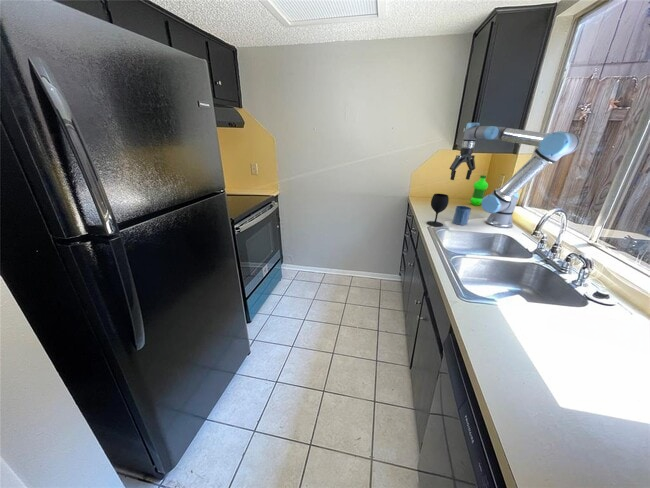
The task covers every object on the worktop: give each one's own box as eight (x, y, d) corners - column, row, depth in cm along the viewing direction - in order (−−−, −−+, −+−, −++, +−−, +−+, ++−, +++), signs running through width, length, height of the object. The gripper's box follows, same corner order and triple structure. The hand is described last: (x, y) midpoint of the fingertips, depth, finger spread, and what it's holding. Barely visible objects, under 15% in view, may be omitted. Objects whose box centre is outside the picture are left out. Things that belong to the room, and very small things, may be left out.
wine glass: (444, 227, 169) (451, 197, 161) (428, 225, 170) (434, 196, 162) (441, 222, 178) (447, 193, 170) (425, 221, 180) (431, 192, 172)
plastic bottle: (466, 203, 229) (473, 174, 219) (477, 203, 230) (485, 174, 220) (473, 206, 220) (481, 176, 210) (484, 206, 221) (493, 176, 211)
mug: (452, 220, 183) (456, 205, 179) (466, 222, 180) (470, 206, 176) (453, 225, 173) (456, 209, 168) (467, 227, 170) (472, 211, 165)
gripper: (477, 147, 181) (469, 178, 189) (448, 147, 173) (441, 179, 182) (486, 148, 174) (477, 180, 183) (456, 148, 167) (449, 181, 176)
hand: (459, 179), depth 182 cm, fingers open, 13 cm apart
